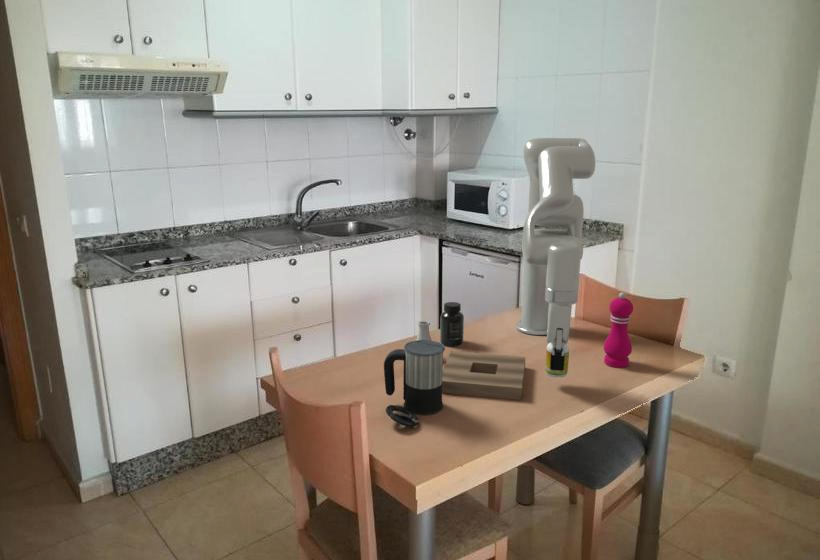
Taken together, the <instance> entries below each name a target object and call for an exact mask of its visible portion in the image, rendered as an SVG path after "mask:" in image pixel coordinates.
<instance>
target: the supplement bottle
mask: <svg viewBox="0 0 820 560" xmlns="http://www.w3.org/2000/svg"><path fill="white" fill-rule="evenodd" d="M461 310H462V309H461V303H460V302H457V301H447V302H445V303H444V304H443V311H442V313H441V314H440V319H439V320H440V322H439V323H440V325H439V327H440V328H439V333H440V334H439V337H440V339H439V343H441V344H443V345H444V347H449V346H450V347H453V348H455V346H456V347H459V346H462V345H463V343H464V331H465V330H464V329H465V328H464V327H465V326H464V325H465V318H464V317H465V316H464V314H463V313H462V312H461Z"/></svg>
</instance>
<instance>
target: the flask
mask: <svg viewBox="0 0 820 560" xmlns="http://www.w3.org/2000/svg"><path fill="white" fill-rule="evenodd" d="M430 324H431V322H430V321H428V320H421V321H418V322H417V325H418V332H417V337H416V340H415V341H417V340H429V341H433V340H432V337H431V334H430Z"/></svg>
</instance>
